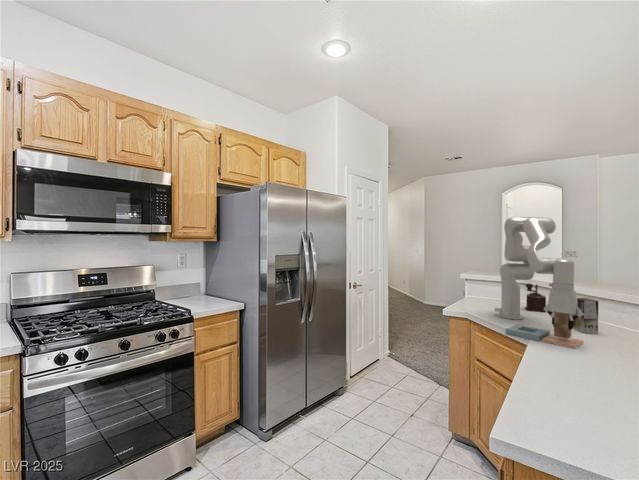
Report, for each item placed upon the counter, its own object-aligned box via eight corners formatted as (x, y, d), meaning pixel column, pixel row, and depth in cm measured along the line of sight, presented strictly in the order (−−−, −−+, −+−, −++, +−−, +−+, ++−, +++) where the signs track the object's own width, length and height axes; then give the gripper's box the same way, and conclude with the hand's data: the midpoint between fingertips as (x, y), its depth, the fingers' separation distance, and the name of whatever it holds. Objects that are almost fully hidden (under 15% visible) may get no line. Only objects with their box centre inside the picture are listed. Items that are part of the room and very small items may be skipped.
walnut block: (553, 335, 145) (554, 311, 145) (557, 333, 148) (558, 309, 148) (567, 338, 141) (567, 313, 141) (571, 336, 144) (571, 311, 144)
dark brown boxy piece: (525, 307, 218) (525, 280, 217) (545, 309, 212) (545, 282, 211) (525, 311, 204) (525, 283, 204) (546, 314, 198) (546, 285, 198)
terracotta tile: (542, 341, 145) (542, 338, 145) (551, 336, 153) (551, 334, 153) (574, 348, 136) (574, 345, 136) (583, 343, 143) (583, 340, 143)
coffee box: (598, 334, 157) (599, 301, 157) (583, 333, 159) (584, 300, 158) (587, 329, 166) (587, 297, 166) (573, 328, 167) (573, 297, 167)
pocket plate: (505, 333, 157) (505, 328, 157) (517, 329, 165) (517, 324, 165) (538, 341, 146) (538, 335, 146) (549, 335, 154) (549, 330, 154)
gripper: (538, 285, 149) (537, 325, 149) (584, 290, 135) (584, 333, 135) (544, 284, 153) (543, 322, 153) (589, 288, 140) (589, 330, 140)
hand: (562, 327), depth 144 cm, fingers closed on walnut block, 5 cm apart
